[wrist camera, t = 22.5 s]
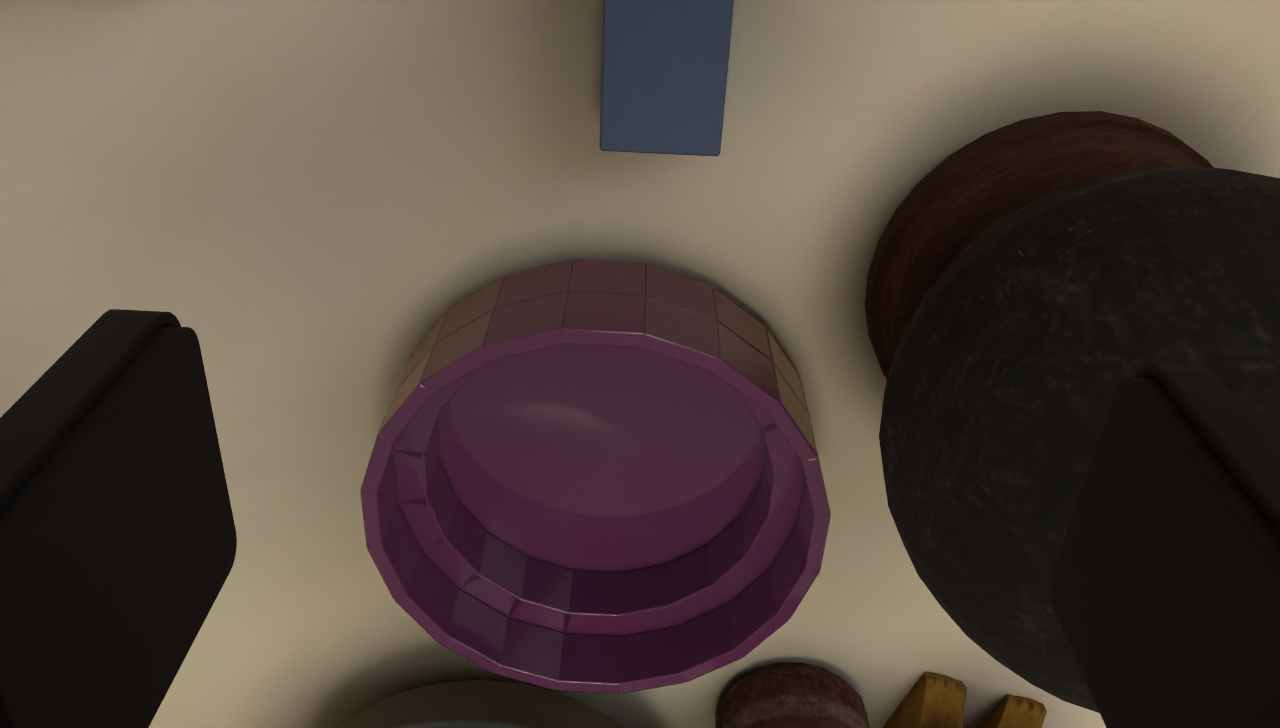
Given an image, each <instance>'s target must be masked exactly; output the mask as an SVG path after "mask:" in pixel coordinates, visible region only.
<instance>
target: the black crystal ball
mask: <svg viewBox="0 0 1280 728" xmlns="http://www.w3.org/2000/svg"><path fill="white" fill-rule="evenodd" d="M865 310H866V318H867V326H868V334H869V337H870V340H871V343H872V346H873V348H874V351H875V354H876V356H877V359H878V362H879V364H880V367H881V370H882V372H883V374H884V376H885V377H886V379H887V383H886V388H885V393H884V400H883V408H882V416H881V425H880V433H879V439H880V447H881V456H882V464H883V472H884V479H885V486H886V493H887V499H888V506H889V509H890V512H891V514H892V517H893V519H894V522H895V524H896V527H897V529H898V532H899V534H900V537H901V539H902V542H903V544H904V546H905V548H906V550H907V552H908V554H909V557H910V559H911V561H912V563H913V565H914V567H915V569H916V571H917V573H918V575H919V577H920V578H921V580H922V581H923V582H924V584H925V585H926V586H927V588H928V589H929V590H930V592H931V593H932V594H933V596H934V597H935V598H936V600H937V601H938V603H939V604H940V605H941V607H942V608H943V609H944V610H945V611H946V612H947V613H948V615H949V616H950V617H951V618H952V619H953V620H954V622H955V623H956V624H957V625H958V626H959V627H960V628H961V630H962V631H963V632H964V633H965V634H966V635H967V636H968V637H969V638H970V639H971V640H973V641H974V642H975V643H976V644H977V645H979V646H980V647H981V648H982V649H983V650H985V651H986V652H987V653H988V654H989V655H991V656H992V657H993V658H994V659H995V660H997V661H998V662H1000V663H1001V664H1002V665H1004V666H1005V667H1007V668H1008V669H1010V670H1011V671H1013V672H1014V673H1016V674H1017V675H1019V676H1020V677H1022V678H1023V679H1025V680H1026V681H1028V682H1029V683H1031V684H1033V685H1034V686H1036V687H1038V688H1040V689H1042V690H1044V691H1046V692H1048V693H1050V694H1052V695H1054V696H1056V697H1058V698H1060V699H1061V700H1063V701H1066V702H1069V703H1072V704H1075V705H1078V706H1080V707H1083V708H1086V709H1089V710H1092V711H1095V712H1098V713H1100V712H1099V710H1098V708H1097V706H1096V703H1095V701H1094V699H1093V697H1092V695H1091V692H1090V690H1089V688H1088V686H1087V684H1086V682H1085V679H1084V677H1083V675H1082V673H1081V671H1080V669H1079V666H1078V664H1077V662H1076V660H1075V658H1074V655H1073V653H1072V651H1071V649H1070V647H1069V645H1068V642H1067V640H1066V638H1065V636H1064V634H1063V632H1062V629H1061V627H1060V625H1059V623H1058V621H1057V618H1056V616H1055V614H1054V612H1053V609H1052V606H1051V600H1050V580H1051V575H1052V572H1053V569H1054V566H1055V563H1056V560H1057V557H1058V554H1059V551H1060V549H1061V546H1062V543H1063V540H1064V537H1065V534H1066V531H1067V528H1068V525H1069V522H1070V519H1071V517H1072V514H1073V511H1074V508H1075V505H1076V502H1077V499H1078V496H1079V493H1080V490H1081V488H1082V485H1083V482H1084V479H1085V476H1086V473H1087V470H1088V467H1089V464H1090V461H1091V458H1092V456H1093V453H1094V450H1095V447H1096V444H1097V441H1098V438H1099V435H1100V432H1101V429H1102V426H1103V424H1104V421H1105V418H1106V415H1107V412H1108V409H1109V406H1110V403H1111V400H1112V397H1113V395H1114V392H1115V390H1116V387H1117V385H1118V384H1119V383H1120V381H1121V380H1122V379H1125V378H1134V375H1135V374H1136V373H1137V372H1138V370H1139V369H1140V368H1141V367H1143V366H1145V365H1165V366H1184V367H1200V368H1207V369H1208V370H1210V371H1211V372H1212V373H1214V375H1215V376H1216V377H1217V378H1218V379H1219V380H1220V381H1221V382H1222V384H1223V385H1224V386H1225V387H1226V388H1227V389H1228V390H1229V391H1230V392H1231V394H1232V395H1233V396H1234V397H1235V398H1236V399H1237V400H1238V401H1239V403H1240V404H1241V405H1242V406H1243V407H1244V408H1245V409H1246V410H1247V411H1248V413H1249V414H1250V415H1251V416H1252V417H1253V418H1254V419H1255V420H1256V422H1257V423H1258V424H1259V425H1260V426H1261V427H1262V428H1263V429H1264V430H1265V432H1266V433H1267V434H1268V435H1269V436H1270V437H1271V438H1272V439H1273V441H1274V442H1275V443H1276V444H1277V445H1278V446H1279V447H1280V178H1274V177H1269V176H1263V175H1258V174H1252V173H1247V172H1241V171H1236V170H1229V169H1219V168H1213V166H1212V165H1211V164H1210V163H1209V161H1208V160H1206V159H1205V158H1204V157H1202V156H1201V155H1200V154H1198V153H1197V152H1196V151H1194V150H1193V149H1192V148H1190V147H1189V146H1188V145H1186V144H1185V143H1184V142H1182V141H1181V140H1180V139H1178V138H1177V137H1176V136H1174V135H1173V134H1172V133H1170V132H1168V131H1166V130H1164V129H1161V128H1159V127H1157V126H1154V125H1152V124H1150V123H1147V122H1145V121H1143V120H1140V119H1138V118H1134V117H1128V116H1123V115H1117V114H1112V113H1106V112H1101V111H1094V112H1059V113H1054V114H1049V115H1045V116H1040V117H1035V118H1030V119H1025V120H1021V121H1018V122H1016V123H1013V124H1011V125H1008V126H1006V127H1003V128H1001V129H998V130H995V131H993V132H990V133H988V134H985V135H983V136H982V137H980V138H978V139H977V140H975V141H973V142H972V143H970V144H968V145H967V146H965V147H963V148H962V149H960V150H958V151H957V152H955V153H953V154H952V155H950V156H949V157H948V158H946V159H945V160H944V161H943V162H942V163H941V164H939V165H938V166H937V167H936V168H935V169H934V170H932V171H931V172H930V173H929V174H928V175H927V176H925V177H924V178H923V179H922V180H921V181H920V182H919V183H918V184H917V185H916V187H915V188H914V189H913V190H912V191H911V193H910V194H909V195H908V196H907V197H906V199H905V200H904V201H903V202H902V204H901V205H900V206H899V207H898V208H897V210H896V211H895V213H894V215H893V216H892V218H891V220H890V222H889V224H888V225H887V227H886V229H885V231H884V233H883V234H882V236H881V238H880V240H879V242H878V245H877V248H876V251H875V254H874V257H873V260H872V263H871V266H870V269H869V272H868V279H867V289H866V299H865Z"/></svg>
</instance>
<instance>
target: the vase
mask: <svg viewBox="0 0 1280 728" xmlns="http://www.w3.org/2000/svg"><path fill="white" fill-rule="evenodd" d="M338 728H622V727H621V726H620V725H618V724H617V723H616V722H614V721H613V720H611V719H610V718H608V717H606V716H605V715H603V714H602V713H600V712H598V711H596V710H594V709H593V708H591V707H589V706H587V705H585V704H583V703H581V702H578V701H576V700H574V699H571V698H569V697H566V696H564V695H561V694H558V693H555V692H552V691H548V690H545V689H541V688H537V687H532V686H527V685H522V684H516V683H509V682H499V681H479V680H476V681H455V682H446V683H438V684H433V685H428V686H423V687H419V688H415V689H411V690H408V691H404V692H401V693H398V694H395V695H392V696H390V697H387V698H385V699H383V700H380V701H378V702H376V703H374V704H372V705H370V706H369V707H367V708H365V709H364V710H362V711H360V712H359V713H357V714H356V715H354V716H353V717H351V718H350V719H349V720H347V721H346V722H344V723H343V724H342V725H341V726H340V727H338Z"/></svg>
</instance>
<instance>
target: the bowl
mask: <svg viewBox="0 0 1280 728" xmlns="http://www.w3.org/2000/svg"><path fill="white" fill-rule="evenodd" d="M361 500H362V509H363V518H364V527H365V536H366V545H367V549H368V551H369V553H370V555H371V557H372V559H373V561H374V563H375V565H376V567H377V569H378V570H379V572H380V574H381V576H382V578H383V580H384V582H385V584H386V586H387V588H388V589H389V591H390V593H391V595H392V597H393V599H395V601H396V602H397V603H398V604H399V605H400V606H401V607H402V608H403V609H404V610H405V611H406V612H407V613H408V614H409V615H410V616H411V617H412V618H413V619H414V620H415V621H416V622H417V623H418V624H419V625H420V626H421V627H422V628H423V629H424V630H425V631H426V632H427V633H428V634H430V635H431V636H432V637H433V638H434V639H435V640H436V641H437V642H439V643H440V644H441V645H443V646H445V647H447V648H449V649H450V650H452V651H454V652H456V653H458V654H459V655H461V656H463V657H465V658H467V659H469V660H470V661H472V662H474V663H476V664H478V665H479V666H481V667H483V668H485V669H487V670H489V671H490V672H494V673H495V674H498V675H502V676H505V677H509V678H513V679H516V680H520V681H523V682H527V683H531V684H534V685H538V686H542V687H545V688H549V689H553V690H556V689H557V690H558V691H577V692H598V693H618V694H620V693H621V692H622V693H629V692H634V691H640V690H646V689H652V688H657V687H663V686H669V685H675V684H680V683H684V682H688V681H690V680H693V679H695V678H697V677H699V676H702V675H704V674H706V673H709V672H711V671H713V670H716V669H718V668H720V667H722V666H725V665H727V664H729V663H732V662H734V661H736V660H739V659H741V658H742V657H744V656H745V655H747V654H748V653H749V652H750V651H752V650H753V649H754V648H755V647H757V646H758V645H759V644H760V643H761V642H763V641H764V640H765V639H766V638H768V637H769V636H770V635H771V634H773V633H774V632H775V631H776V630H777V629H779V628H780V627H781V626H782V625H784V624H785V623H786V622H787V621H788V620H789V619H790V618H791V616H792V615H793V613H794V612H795V610H796V608H797V607H798V605H799V604H800V602H801V601H802V599H803V597H804V596H805V594H806V593H807V591H808V589H809V588H810V586H811V585H812V583H813V582H814V580H815V578H816V577H817V575H818V574H819V571H820V569H821V564H822V559H823V554H824V548H825V543H826V538H827V532H828V527H829V522H830V517H831V516H830V514H831V513H830V508H829V503H828V499H827V494H826V490H825V485H824V481H823V476H822V472H821V467H820V463H819V458H818V454H817V449H816V445H815V440H814V436H813V431H812V427H811V423H810V418H809V414H808V410H807V405H806V401H805V396H804V392H803V387H802V383H801V379H800V377H799V375H798V374H797V372H796V371H795V369H794V368H793V366H792V365H791V363H790V362H789V360H788V359H787V357H786V356H785V354H784V353H783V351H782V350H781V348H780V347H779V345H778V344H777V342H776V341H775V339H774V338H773V336H772V335H771V333H770V332H769V330H768V329H767V328H765V326H764V325H762V324H761V323H760V322H758V321H757V320H756V319H754V318H753V317H752V316H750V315H749V314H748V313H747V312H745V311H744V310H743V309H741V308H740V307H739V306H737V305H736V304H735V303H733V302H732V301H731V300H729V299H728V298H727V297H725V296H724V295H723V294H721V293H720V292H719V291H717V290H716V289H714V288H713V289H712V287H711V286H709V285H706V284H703V283H700V282H697V281H695V280H692V279H689V278H686V277H683V276H681V275H678V274H675V273H672V272H669V271H667V270H664V269H661V268H658V267H655V266H652V265H650V264H645V263H637V262H619V261H601V260H582V259H574V260H568V261H564V262H560V263H556V264H552V265H547V266H543V267H539V268H535V269H531V270H527V271H522V272H518V273H514V274H510V275H506V276H503V277H501V278H499V279H498V280H496V281H494V282H493V283H491V284H489V285H488V286H486V287H484V288H483V289H481V290H479V291H478V292H476V293H475V294H473V295H471V296H470V297H468V298H466V299H465V300H463V301H461V302H460V303H458V304H456V305H455V306H453V307H451V308H450V309H449V310H448V311H446V312H445V314H444V315H443V316H442V317H441V319H440V320H439V321H438V322H437V324H436V325H435V326H434V327H433V329H432V330H431V331H430V332H429V334H428V335H427V336H426V337H425V338H424V340H423V341H422V342H421V343H420V345H419V346H418V347H417V348H416V350H415V351H414V352H413V353H412V355H411V356H410V358H409V360H408V362H407V365H406V367H405V369H404V372H403V374H402V377H401V379H400V381H399V384H398V386H397V389H396V391H395V394H394V396H393V398H392V401H391V403H390V405H389V408H388V410H387V413H386V415H385V417H384V420H383V422H382V425H381V427H380V430H379V432H378V434H377V438H376V441H375V444H374V447H373V451H372V454H371V457H370V460H369V464H368V467H367V470H366V474H365V477H364V480H363V483H362V487H361Z"/></svg>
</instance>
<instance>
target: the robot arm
mask: <svg viewBox="0 0 1280 728" xmlns="http://www.w3.org/2000/svg"><path fill="white" fill-rule="evenodd" d="M236 544H237V538H236V530H235V525H234V520H233V515H232V509H231V504H230V499H229V494H228V489H227V484H226V479H225V473H224V468H223V463H222V458H221V453H220V448H219V443H218V437H217V432H216V427H215V422H214V417H213V412H212V407H211V401H210V396H209V391H208V386H207V381H206V376H205V371H204V365H203V360H202V355H201V350H200V345H199V341H198V338H197V335H196V333H195V332H194V330H193V329H191V328H189V327H181V325H180V323H179V321H178V319H177V318H176V316H175V315H173V314H172V313H170V312H156V311H137V310H118V309H114V310H109V311H107V312H106V313H104V314H103V315H102V316H101V317H100V318H99V319H98V320H97V321H96V322H95V323H94V324H93V325H92V326H91V327H90V328H89V329H88V330H87V331H86V332H85V333H84V334H83V335H82V336H81V337H80V338H79V339H78V340H77V341H76V342H75V343H74V344H73V345H72V346H71V347H70V348H69V349H68V350H67V351H66V352H65V353H64V354H63V355H62V356H61V357H60V358H59V359H58V360H57V361H56V362H55V363H54V364H53V365H52V366H51V367H50V368H49V369H48V370H47V371H46V372H45V373H44V374H43V375H42V376H41V377H40V378H39V379H38V380H37V381H36V382H35V383H34V384H33V385H32V386H31V387H30V388H29V389H28V390H27V392H26V393H25V394H24V395H23V396H22V397H21V398H20V399H19V400H18V401H17V402H16V403H15V404H14V405H13V406H12V407H11V408H10V409H9V410H8V411H7V412H6V413H5V414H4V415H3V416H2V417H1V418H0V728H148V727H149V725H150V723H151V722H152V720H153V718H154V716H155V714H156V712H157V710H158V708H159V706H160V704H161V702H162V701H163V699H164V697H165V695H166V693H167V691H168V689H169V687H170V685H171V683H172V681H173V680H174V678H175V676H176V674H177V672H178V670H179V668H180V666H181V664H182V662H183V661H184V659H185V657H186V655H187V653H188V651H189V649H190V647H191V645H192V643H193V641H194V640H195V638H196V636H197V634H198V632H199V630H200V628H201V626H202V624H203V622H204V620H205V619H206V617H207V615H208V613H209V611H210V609H211V607H212V605H213V603H214V601H215V599H216V598H217V596H218V594H219V592H220V590H221V588H222V586H223V584H224V582H225V580H226V579H227V577H228V575H229V573H230V571H231V568H232V566H233V563H234V559H235V554H236ZM1050 600H1051V606H1052V609H1053V612H1054V614H1055V616H1056V618H1057V621H1058V623H1059V625H1060V627H1061V629H1062V632H1063V634H1064V636H1065V638H1066V640H1067V642H1068V645H1069V647H1070V649H1071V651H1072V653H1073V655H1074V658H1075V660H1076V662H1077V664H1078V666H1079V669H1080V671H1081V673H1082V675H1083V677H1084V679H1085V682H1086V684H1087V686H1088V688H1089V690H1090V692H1091V695H1092V697H1093V699H1094V701H1095V703H1096V706H1097V708H1098V710H1099V712H1100V714H1101V716H1102V719H1103V721H1104V723H1105V725H1106V727H1107V728H1280V447H1279V446H1278V445H1277V444H1276V443H1275V442H1274V441H1273V439H1272V438H1271V437H1270V436H1269V435H1268V434H1267V433H1266V432H1265V430H1264V429H1263V428H1262V427H1261V426H1260V425H1259V424H1258V423H1257V422H1256V420H1255V419H1254V418H1253V417H1252V416H1251V415H1250V414H1249V413H1248V411H1247V410H1246V409H1245V408H1244V407H1243V406H1242V405H1241V404H1240V403H1239V401H1238V400H1237V399H1236V398H1235V397H1234V396H1233V395H1232V394H1231V392H1230V391H1229V390H1228V389H1227V388H1226V387H1225V386H1224V385H1223V384H1222V382H1221V381H1220V380H1219V379H1218V378H1217V377H1216V376H1215V375H1214V373H1212V372H1211V371H1210V370H1208V369H1207V368H1200V367H1184V366H1165V365H1145V366H1143V367H1141V368H1140V369H1139V370H1138V372H1137V373H1136V374H1135V375H1134V378H1125V379H1122V380H1121V381H1120V383H1119V384H1118V385H1117V387H1116V390H1115V392H1114V395H1113V397H1112V400H1111V403H1110V406H1109V409H1108V412H1107V415H1106V418H1105V421H1104V424H1103V426H1102V429H1101V432H1100V435H1099V438H1098V441H1097V444H1096V447H1095V450H1094V453H1093V456H1092V458H1091V461H1090V464H1089V467H1088V470H1087V473H1086V476H1085V479H1084V482H1083V485H1082V488H1081V490H1080V493H1079V496H1078V499H1077V502H1076V505H1075V508H1074V511H1073V514H1072V517H1071V519H1070V522H1069V525H1068V528H1067V531H1066V534H1065V537H1064V540H1063V543H1062V546H1061V549H1060V551H1059V554H1058V557H1057V560H1056V563H1055V566H1054V569H1053V572H1052V575H1051V580H1050Z"/></svg>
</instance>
